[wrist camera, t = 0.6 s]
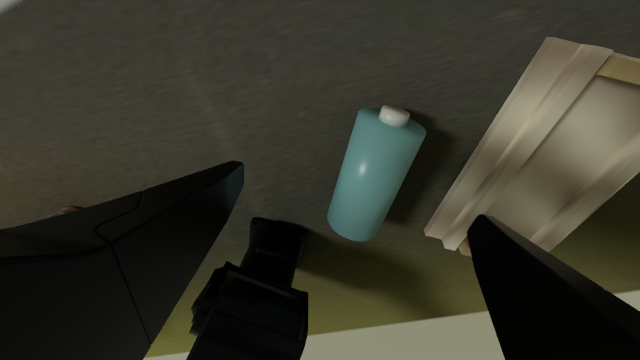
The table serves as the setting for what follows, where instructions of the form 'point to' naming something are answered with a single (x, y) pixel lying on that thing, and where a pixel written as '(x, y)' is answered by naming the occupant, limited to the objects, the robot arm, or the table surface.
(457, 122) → the table surface
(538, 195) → the wooden tray
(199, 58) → the table surface
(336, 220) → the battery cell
